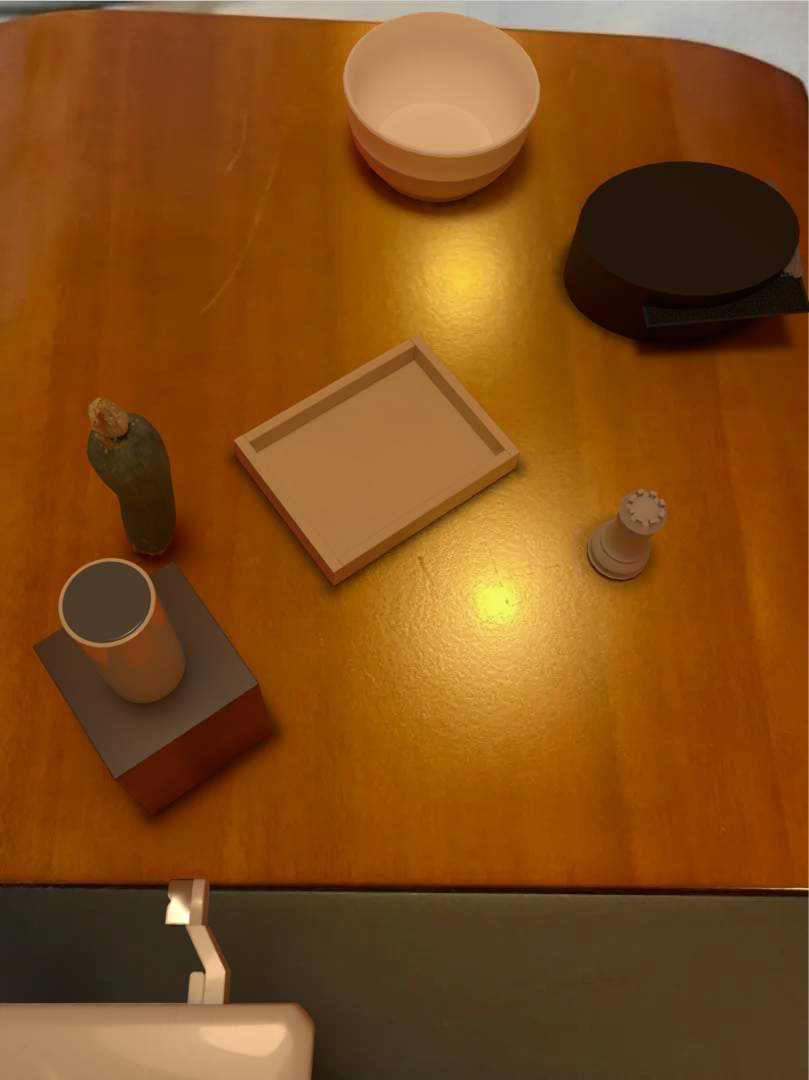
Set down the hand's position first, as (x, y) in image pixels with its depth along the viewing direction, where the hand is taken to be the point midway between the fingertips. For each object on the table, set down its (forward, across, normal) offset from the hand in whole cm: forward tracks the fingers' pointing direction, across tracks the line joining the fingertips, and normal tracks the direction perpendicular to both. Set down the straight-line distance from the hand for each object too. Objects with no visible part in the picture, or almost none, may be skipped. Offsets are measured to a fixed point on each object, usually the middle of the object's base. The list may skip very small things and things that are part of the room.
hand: (74, 879), depth 41 cm
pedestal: (+12, 0, +22) cm, 25 cm away
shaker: (+12, 0, +10) cm, 16 cm away
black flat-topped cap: (+49, -37, +22) cm, 66 cm away
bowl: (+62, -18, +22) cm, 68 cm away
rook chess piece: (+25, -30, +22) cm, 45 cm away
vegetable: (+25, +2, +22) cm, 33 cm away
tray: (+32, -13, +22) cm, 40 cm away
